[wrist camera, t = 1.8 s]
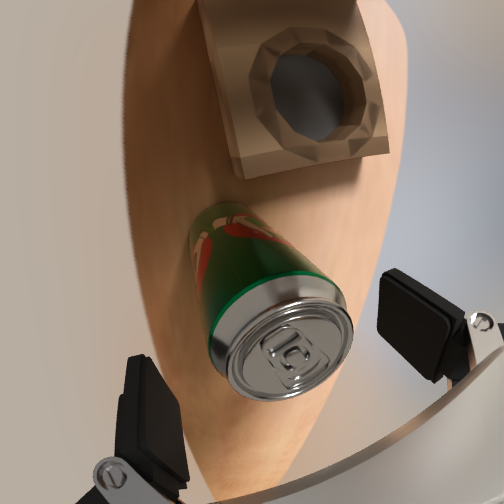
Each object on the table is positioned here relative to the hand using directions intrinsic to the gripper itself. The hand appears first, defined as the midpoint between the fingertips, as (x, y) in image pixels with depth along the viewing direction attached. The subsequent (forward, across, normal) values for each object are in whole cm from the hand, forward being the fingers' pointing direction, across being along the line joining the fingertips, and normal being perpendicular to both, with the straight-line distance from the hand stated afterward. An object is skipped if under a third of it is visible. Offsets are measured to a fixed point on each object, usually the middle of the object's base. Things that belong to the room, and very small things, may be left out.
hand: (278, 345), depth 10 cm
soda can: (+11, 0, -1) cm, 11 cm away
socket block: (+10, -7, -12) cm, 17 cm away
